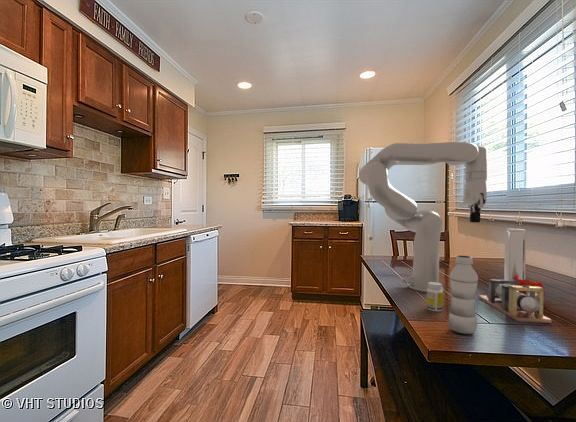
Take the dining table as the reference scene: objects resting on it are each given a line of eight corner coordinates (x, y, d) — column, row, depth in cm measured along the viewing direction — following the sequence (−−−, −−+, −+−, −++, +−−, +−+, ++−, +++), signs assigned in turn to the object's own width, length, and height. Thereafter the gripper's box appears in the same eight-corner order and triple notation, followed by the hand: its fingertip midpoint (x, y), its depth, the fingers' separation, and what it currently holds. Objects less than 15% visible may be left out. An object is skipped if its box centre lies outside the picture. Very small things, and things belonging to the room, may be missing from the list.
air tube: (522, 312, 90) (522, 296, 90) (493, 297, 106) (493, 283, 105) (539, 313, 89) (540, 297, 89) (508, 297, 105) (508, 284, 105)
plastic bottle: (442, 327, 83) (444, 254, 83) (466, 327, 84) (467, 254, 83) (458, 337, 77) (459, 258, 76) (483, 337, 77) (484, 258, 77)
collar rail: (517, 321, 89) (518, 288, 88) (478, 297, 111) (479, 272, 111) (551, 323, 87) (552, 290, 87) (505, 299, 110) (505, 273, 110)
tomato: (506, 297, 112) (507, 277, 112) (531, 298, 112) (531, 277, 112) (525, 305, 103) (526, 283, 103) (552, 306, 103) (553, 284, 102)
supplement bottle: (441, 308, 100) (442, 282, 100) (444, 312, 95) (444, 285, 95) (425, 306, 101) (426, 281, 101) (427, 310, 97) (427, 284, 97)
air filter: (517, 290, 122) (518, 228, 122) (528, 295, 115) (530, 229, 115) (500, 290, 123) (501, 227, 122) (510, 294, 116) (511, 229, 116)
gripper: (458, 179, 132) (457, 221, 132) (474, 175, 117) (473, 223, 117) (476, 178, 131) (476, 221, 131) (495, 175, 116) (494, 223, 116)
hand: (475, 222), depth 124 cm, fingers closed
